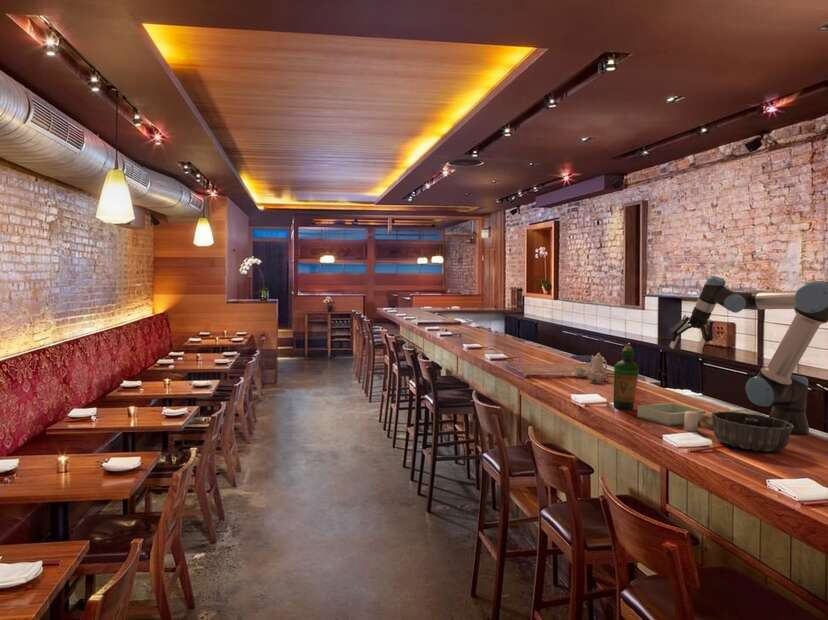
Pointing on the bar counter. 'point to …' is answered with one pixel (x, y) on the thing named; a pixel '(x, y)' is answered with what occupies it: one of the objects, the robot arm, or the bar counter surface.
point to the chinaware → (593, 369)
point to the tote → (666, 413)
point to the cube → (706, 421)
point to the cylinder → (691, 421)
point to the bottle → (625, 380)
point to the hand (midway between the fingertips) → (684, 349)
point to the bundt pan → (751, 431)
